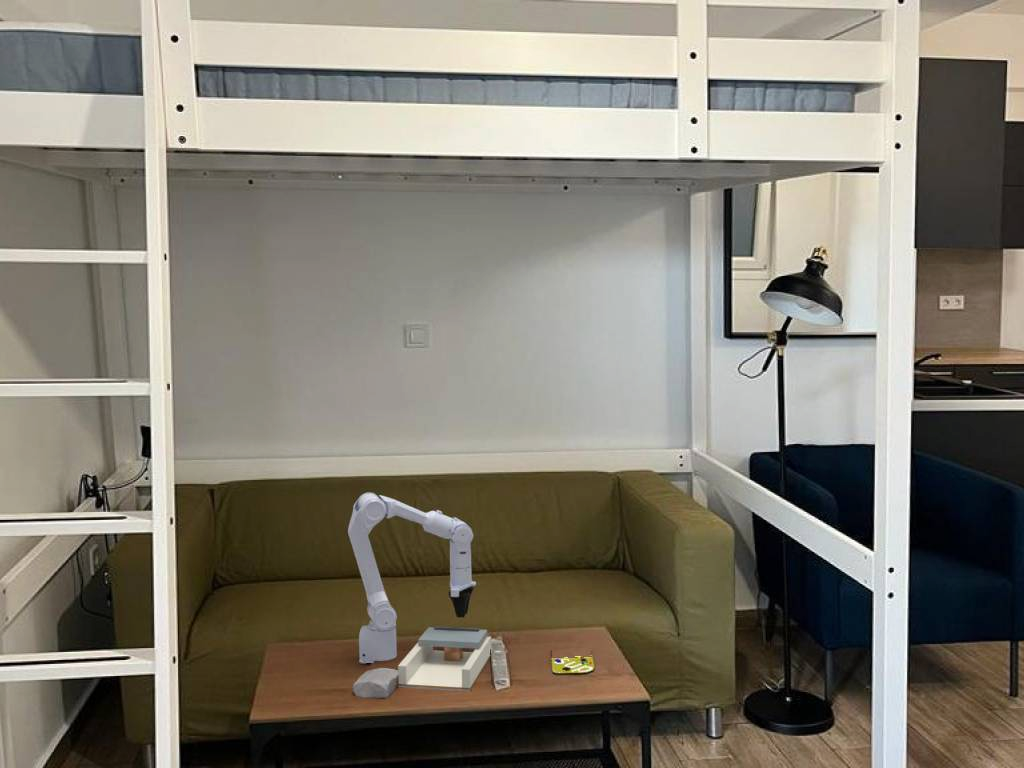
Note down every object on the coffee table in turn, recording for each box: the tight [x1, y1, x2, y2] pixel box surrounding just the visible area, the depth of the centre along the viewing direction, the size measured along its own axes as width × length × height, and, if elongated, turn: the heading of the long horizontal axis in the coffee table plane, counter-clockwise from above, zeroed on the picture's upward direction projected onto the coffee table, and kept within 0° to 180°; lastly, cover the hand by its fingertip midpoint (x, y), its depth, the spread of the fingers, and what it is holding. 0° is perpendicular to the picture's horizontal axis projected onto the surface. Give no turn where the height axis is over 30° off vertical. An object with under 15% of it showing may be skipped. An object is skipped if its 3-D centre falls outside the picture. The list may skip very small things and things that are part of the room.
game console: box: [550, 654, 595, 676], centre depth 262 cm, size 18×11×2 cm, turn 1°
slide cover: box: [417, 625, 488, 650], centre depth 263 cm, size 16×10×2 cm, turn 79°
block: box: [443, 647, 464, 661], centre depth 263 cm, size 4×4×4 cm
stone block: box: [352, 667, 399, 699], centre depth 247 cm, size 12×5×10 cm
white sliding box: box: [397, 636, 492, 693], centre depth 256 cm, size 18×24×6 cm
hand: (461, 615), depth 272 cm, fingers open, 2 cm apart
